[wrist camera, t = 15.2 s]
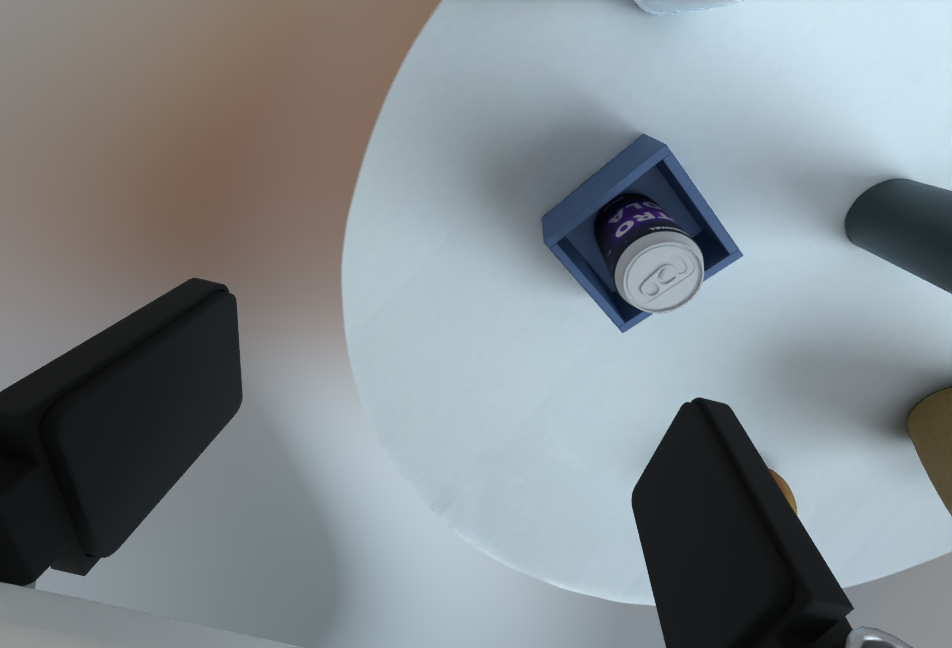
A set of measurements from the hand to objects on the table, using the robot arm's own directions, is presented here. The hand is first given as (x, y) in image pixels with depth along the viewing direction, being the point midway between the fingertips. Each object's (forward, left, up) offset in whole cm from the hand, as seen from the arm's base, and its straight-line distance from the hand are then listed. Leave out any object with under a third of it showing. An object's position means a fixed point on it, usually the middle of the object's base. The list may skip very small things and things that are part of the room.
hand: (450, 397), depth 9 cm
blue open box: (+11, +4, -32) cm, 34 cm away
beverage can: (+11, +4, -32) cm, 34 cm away
